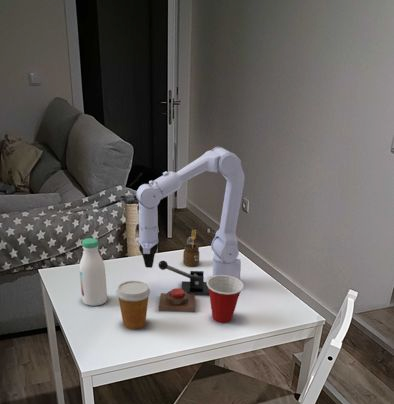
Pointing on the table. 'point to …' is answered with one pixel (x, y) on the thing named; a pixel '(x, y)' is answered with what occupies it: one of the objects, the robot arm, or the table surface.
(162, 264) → the lever
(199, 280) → the bracket
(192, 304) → the button block
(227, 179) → the robot arm
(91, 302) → the milk bottle
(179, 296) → the button
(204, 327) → the table surface
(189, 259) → the utensil holder
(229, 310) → the plastic cup
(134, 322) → the disposable coffee cup
